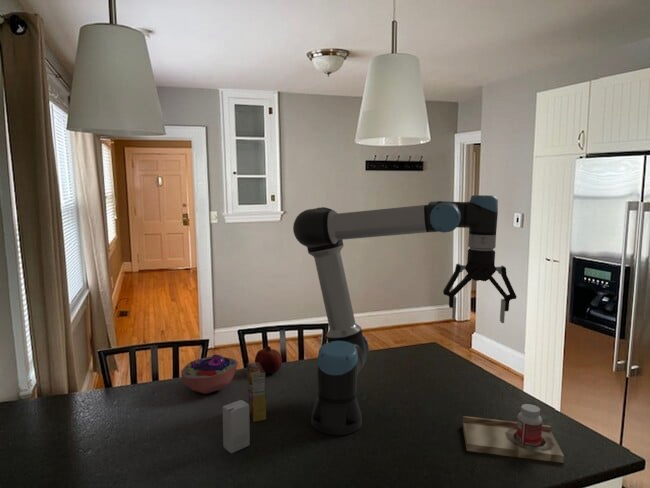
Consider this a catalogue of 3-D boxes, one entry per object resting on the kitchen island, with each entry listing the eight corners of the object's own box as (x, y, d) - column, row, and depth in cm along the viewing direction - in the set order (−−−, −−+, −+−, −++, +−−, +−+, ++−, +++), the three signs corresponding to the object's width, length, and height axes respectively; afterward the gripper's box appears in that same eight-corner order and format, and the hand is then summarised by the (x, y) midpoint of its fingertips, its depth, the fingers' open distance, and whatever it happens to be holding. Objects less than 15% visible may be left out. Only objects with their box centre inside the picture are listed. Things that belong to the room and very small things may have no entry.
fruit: (249, 371, 172) (249, 346, 171) (270, 365, 179) (270, 340, 178) (265, 380, 164) (265, 354, 163) (287, 373, 171) (287, 347, 170)
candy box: (247, 408, 143) (246, 362, 142) (260, 406, 145) (260, 361, 143) (252, 422, 135) (251, 373, 133) (266, 420, 137) (266, 372, 135)
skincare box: (241, 439, 126) (241, 398, 125) (250, 446, 123) (250, 404, 121) (222, 447, 122) (221, 405, 120) (231, 455, 119) (230, 411, 117)
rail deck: (466, 450, 122) (467, 439, 121) (462, 426, 135) (463, 415, 134) (563, 462, 117) (564, 451, 117) (549, 436, 130) (550, 425, 129)
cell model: (170, 391, 155) (169, 359, 154) (219, 373, 170) (218, 344, 169) (199, 407, 144) (198, 373, 143) (248, 386, 159) (248, 356, 158)
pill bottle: (544, 447, 124) (547, 409, 123) (532, 454, 120) (535, 415, 119) (523, 437, 129) (526, 400, 128) (511, 443, 125) (513, 406, 124)
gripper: (437, 248, 130) (434, 320, 132) (530, 252, 124) (525, 327, 127) (436, 245, 137) (433, 313, 140) (524, 248, 132) (519, 319, 134)
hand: (477, 320), depth 133 cm, fingers open, 13 cm apart
